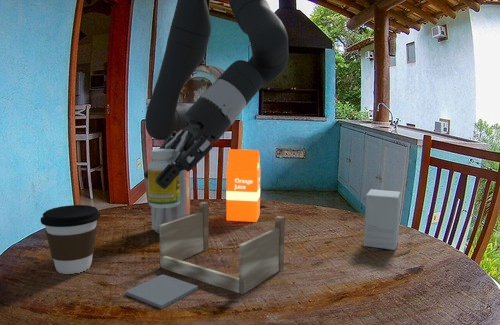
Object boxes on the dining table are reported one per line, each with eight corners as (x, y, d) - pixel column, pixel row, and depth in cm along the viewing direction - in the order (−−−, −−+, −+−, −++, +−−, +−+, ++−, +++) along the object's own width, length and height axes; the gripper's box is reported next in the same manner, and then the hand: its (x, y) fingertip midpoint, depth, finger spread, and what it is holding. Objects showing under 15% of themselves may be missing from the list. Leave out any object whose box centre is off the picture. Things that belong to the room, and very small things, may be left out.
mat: (125, 294, 75) (125, 291, 75) (162, 277, 82) (162, 274, 82) (161, 308, 70) (161, 305, 70) (198, 289, 77) (198, 286, 77)
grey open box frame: (159, 267, 87) (158, 215, 85) (203, 248, 98) (203, 201, 97) (244, 294, 75) (244, 234, 73) (283, 269, 87) (284, 217, 85)
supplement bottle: (148, 202, 76) (146, 148, 74) (178, 200, 77) (177, 147, 76) (149, 209, 71) (147, 152, 69) (181, 207, 72) (180, 151, 70)
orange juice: (231, 213, 129) (231, 147, 126) (260, 214, 127) (261, 148, 124) (226, 220, 121) (226, 150, 118) (256, 222, 120) (257, 151, 117)
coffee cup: (59, 258, 91) (56, 203, 89) (110, 259, 91) (108, 204, 89) (32, 279, 80) (28, 218, 79) (89, 280, 80) (86, 219, 78)
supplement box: (398, 241, 105) (402, 191, 103) (395, 251, 98) (398, 197, 96) (368, 237, 108) (370, 188, 106) (362, 246, 101) (365, 194, 99)
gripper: (186, 95, 81) (125, 162, 76) (221, 95, 69) (151, 174, 64) (211, 123, 84) (154, 188, 80) (249, 127, 72) (185, 204, 68)
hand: (153, 181), depth 72 cm, fingers closed on supplement bottle, 5 cm apart
